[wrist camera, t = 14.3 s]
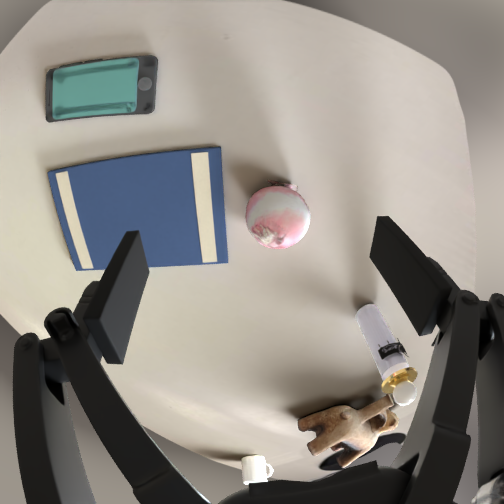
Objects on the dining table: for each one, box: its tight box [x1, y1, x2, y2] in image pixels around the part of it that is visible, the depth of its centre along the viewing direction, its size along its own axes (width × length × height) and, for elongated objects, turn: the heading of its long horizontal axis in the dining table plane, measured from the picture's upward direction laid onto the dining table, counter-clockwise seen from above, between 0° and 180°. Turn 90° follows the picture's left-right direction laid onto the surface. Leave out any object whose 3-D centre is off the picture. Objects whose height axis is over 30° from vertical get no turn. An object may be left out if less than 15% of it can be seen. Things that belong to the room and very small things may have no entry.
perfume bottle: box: [355, 304, 417, 405], centre depth 41 cm, size 6×6×20 cm
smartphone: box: [46, 55, 158, 122], centre depth 28 cm, size 7×1×15 cm
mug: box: [241, 455, 273, 485], centre depth 81 cm, size 8×12×10 cm
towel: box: [48, 147, 228, 271], centre depth 37 cm, size 24×16×1 cm, turn 91°
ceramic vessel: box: [298, 394, 399, 468], centre depth 68 cm, size 13×31×25 cm
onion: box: [246, 180, 311, 249], centre depth 35 cm, size 8×8×7 cm
